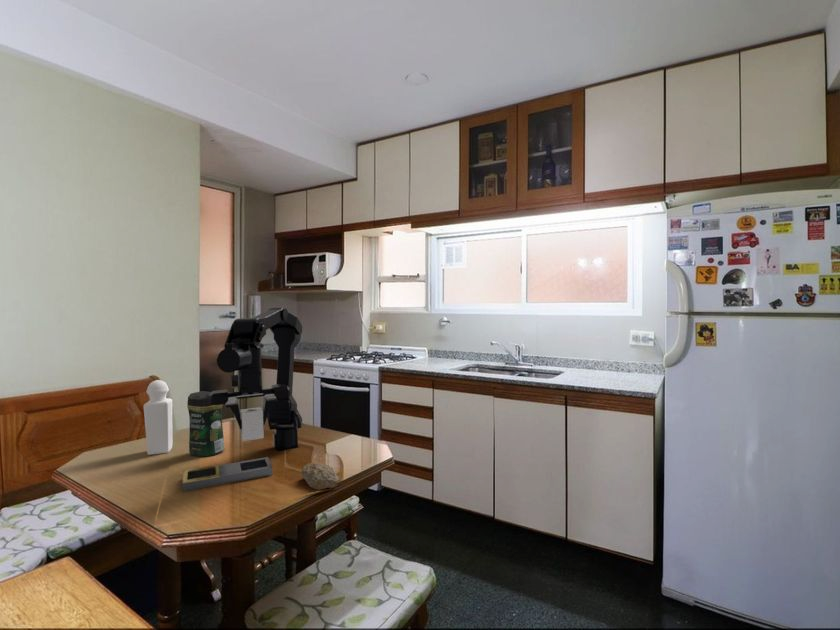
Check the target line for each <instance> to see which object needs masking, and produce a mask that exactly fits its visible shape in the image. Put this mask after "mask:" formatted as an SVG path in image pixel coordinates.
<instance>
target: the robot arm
mask: <svg viewBox="0 0 840 630" xmlns="http://www.w3.org/2000/svg"><path fill="white" fill-rule="evenodd" d="M267 330H270V331H271V333H272V334H273V340H274V342H275V344H276V345H277V348H278V350H277V351H278V353H277V366H276V367H277V368H276V369H277V370H276V381H275V382H276V384H272V385H271V387H269V388H263V371H262V370H263V368H262V366H263V365H262V348H264V344H263V343H262V340H263V338H264V337H265V336H266V335H267ZM302 334H303V324H302V323H301V321H300V320H299V318H298V317H297V316H296V315H294V314H292V313H290V312H289V311H288V309H287V308H284V307H271V308H269V309H268V310H266V311H265V312H262V313H259V314H258V315H255V316H253V317H244V318H235V319H234V321H233V322H232V324H231V325H230V329H229V332H228V334H227V338H226V340H225V343H224V349H222V350H221V351H219V353H218V355H217V357H216V364H217V366H218V367H217V368H219V369H220V371H222V372H224V373H228V374H230V373H234V372H237V374H234V375H232V374H231V375H230V384H231V389H237V391H233V392H232V391H231V392H229V391H228V389H219V390H212V391H210V392H211V405H213V406H214V405H222V404H223V405H224V406H225V408H230V411H232V413H233V415H234V418H235V420H236V422H237V426H238V428H239V430H241V429H242V422H241V414H240V406H239V402H238V400H241V399H250V398H260V397H263V398H262V410H263V427H265V424H266V423H267V424H268V427H269V430H274V433H273V434H272V438H273V439H272V443H273V445H272V446H273V448H274V449H275V450H276V451H277V452H280V451H287V450H293V449H298V448H300V445H299V440H298V439H299V437H298V429H301V428H302V426H303V417H302V415H301V413H300V412H299V410H298V403H297V401H296V400H295V398H294V396H293V385H294V384H293V383H294V363H295V349H296V347H297V346H298V344H299V343H300V342H301V338H302V337H301V335H302ZM266 421H267V422H266Z"/></svg>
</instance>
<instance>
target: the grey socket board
mask: <svg viewBox="0 0 840 630" xmlns="http://www.w3.org/2000/svg"><path fill="white" fill-rule="evenodd" d="M182 476H183V477H182V482H181V483H182V484H181V485H182V492H189V491H194V490H201V489H206V488H210V487H215V486H221V485H226V484H232V483H238V482H243V481H248V480H253V479H260V478H264V477H268V476H273V466H272V464H271V461H270V459H269V457H268V456H267V457H260V458H253V459H247V460H242V461H237V462H236V461H235V462H231V463H224V464H214V465H209V466H202V467H197V468H191V469H185V470H184V471H183V475H182Z"/></svg>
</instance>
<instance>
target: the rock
mask: <svg viewBox="0 0 840 630" xmlns="http://www.w3.org/2000/svg"><path fill="white" fill-rule="evenodd" d="M300 475H301V477H302V478H303V479H304V480H305V483H306V484H308V486H309V487H310V488H312V489H314V490H316V491H317V490H318V491H319V490H325V489H327V488H330V489H336V488H337V485H338V483H339V480H340V477H339V476H337V474H336V471H335V469H334V468H333V467H331V466H330V464H325V463H316V462H310V463H307V464H305V465H304V466H303V467H302V469H301V474H300Z"/></svg>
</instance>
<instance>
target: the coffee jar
mask: <svg viewBox="0 0 840 630" xmlns="http://www.w3.org/2000/svg"><path fill="white" fill-rule="evenodd" d="M211 392H212V391H203V390H201V391H196V392H192V393H189V395H188V397H187V411H188V416H189V437H188V438H189V439H188V440H189V441H188V452H189V454H190V455H192V456H196V457H203V458H204V457H205V458H206V457H211V456H216V455H219V454H221V453H222V452H223V451H225V438H224V428H223V420H222V419H223V416H222V412H223V405H224V404H222V405H214V406H213V405H211Z"/></svg>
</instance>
